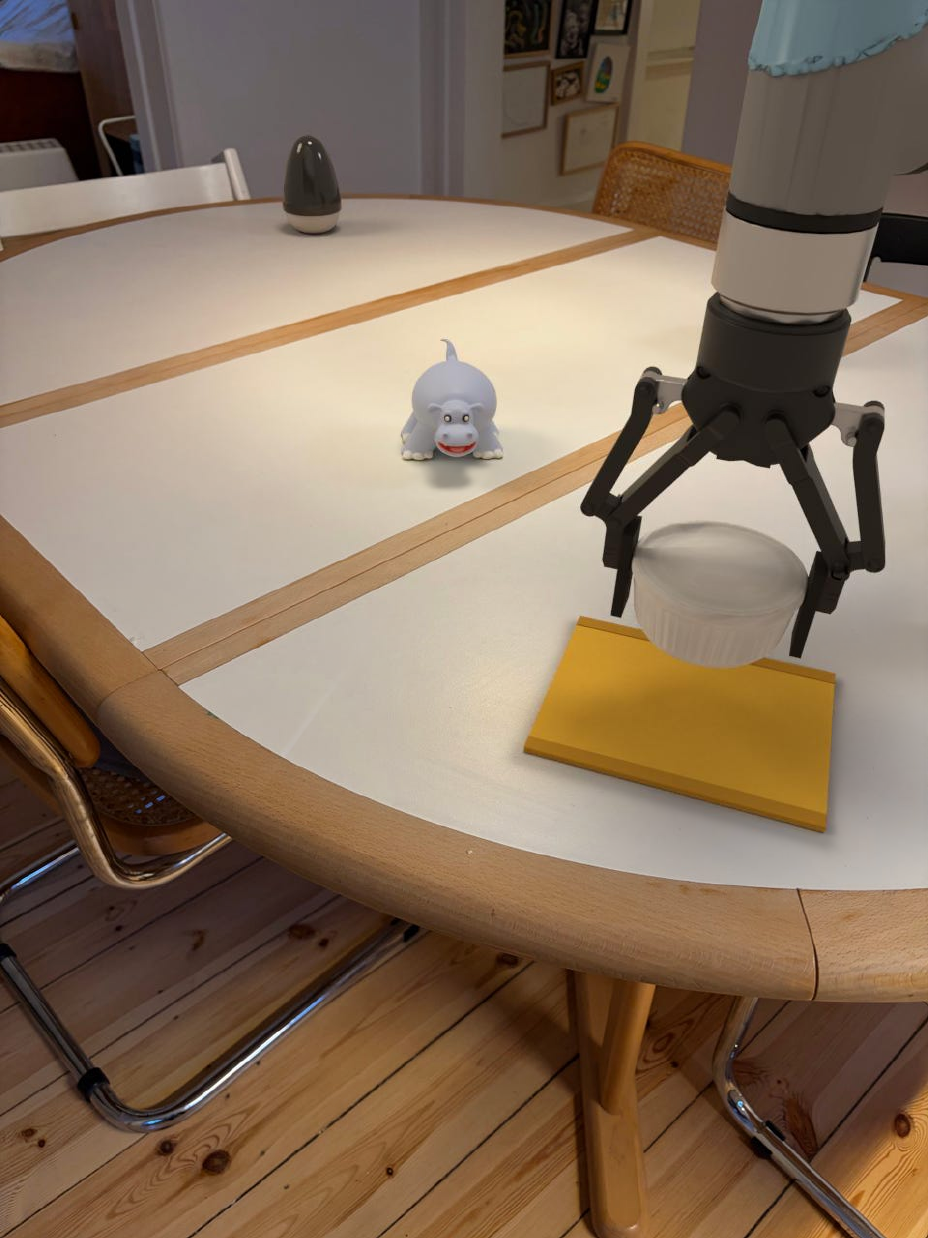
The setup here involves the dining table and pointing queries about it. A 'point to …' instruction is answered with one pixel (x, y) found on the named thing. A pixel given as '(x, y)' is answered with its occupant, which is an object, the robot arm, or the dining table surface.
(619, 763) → the tray
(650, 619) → the ramekin
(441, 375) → the hippopotamus toy
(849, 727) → the dining table surface
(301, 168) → the black egg shape
